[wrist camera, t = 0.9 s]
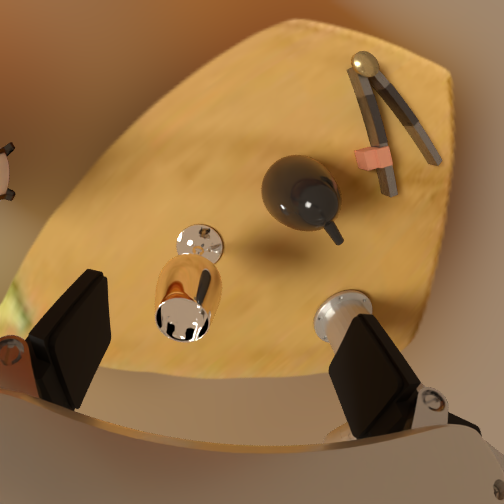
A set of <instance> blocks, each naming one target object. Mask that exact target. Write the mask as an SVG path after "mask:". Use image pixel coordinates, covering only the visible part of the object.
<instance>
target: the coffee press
mask: <svg viewBox="0 0 504 504" xmlns="http://www.w3.org/2000/svg"><path fill="white" fill-rule="evenodd" d="M14 149H15V147H14V145H13V143H12V142H11V143H9V144H7V145H6V146H5V147H3V148H1V147H0V201H1V199H6V200H10V201H12V200H13V198H14V196H15V192H14V191H13V190H10V189H9V188H8V183H9V163H8V159H7V156H8V155H9V154H10V153H11V152H12V151H13V150H14ZM5 193H6V194H5Z"/></svg>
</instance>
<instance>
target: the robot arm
mask: <svg viewBox="0 0 504 504" xmlns="http://www.w3.org/2000/svg"><path fill="white" fill-rule="evenodd" d="M314 329H315V331H316V333H317V335H318V337H319V338H320V339H322V340H323V341H325V342H329V343H330V345H331V347H332V349H333V351H334V353H335V356H334V358H333V360H332V362H331V364H330V366H329V375H330V377H331V380H332V382H333V385H334V388H335V390H336V393H337V395H338V398H339V400H340V403H341V406H342V409H343V411H344V414H345V416H346V419H347V422H346V423H344V424H342V425H341V426H339V427H337V428H336V429H334V430H332V431H331V432H330V433H328V434H327V436H326V437H325V438H324V441H323V444H310V445H291V446H253V445H233V444H220V443H210V442H201V441H193V440H186V439H180V438H174V437H168V436H163V435H158V434H153V433H148V432H144V431H139V430H135V429H131V428H127V427H123V426H120V425H116V424H113V423H109V422H105V421H102V420H99V419H96V418H92V417H90V416H86V415H84V414H80V413H78V412H75V411H74V409H75V408H76V409H79V408H80V406H81V404H82V401H83V399H84V397H85V394H86V392H87V389H88V388H89V386H90V383H91V381H92V379H93V377H94V374H95V372H96V370H97V368H98V366H99V364H100V362H101V360H102V358H103V356H104V354H105V352H106V350H107V348H108V346H109V344H110V341H111V329H110V318H109V304H108V283H107V278H106V277H104V275H103V273H102V272H100V271H96V270H91V269H87V270H86V271H85V272H84V273H83V274H82V275H81V276H80V277H79V278H78V279H77V280H76V281H75V282H74V283H73V284H72V285H71V286H70V287H69V288H68V289H67V290H66V292H65V293H64V294H63V295H62V296H61V297H60V298H59V299H58V300H57V301H56V302H55V304H54V305H53V306H52V307H51V308H50V309H49V310H48V311H47V313H46V314H45V315H44V316H43V317H42V318H41V319H40V321H39V322H38V323H37V324H36V325H35V327H34V328H33V329H32V330H31V331H30V333H29V336H28V337H27V338H26V340H24V339H22V338H21V337H19V336H15V335H7V336H4V337H1V338H0V504H504V455H503V454H501V453H500V452H499V451H498V450H496V449H495V448H494V447H493V446H491V445H490V444H489V443H488V442H486V441H485V440H484V439H483V438H482V435H481V431H480V429H479V427H478V426H476V425H474V424H472V423H470V422H468V421H466V420H464V419H462V418H460V417H458V416H455V415H453V414H451V413H449V412H448V402H447V400H446V398H445V396H444V395H443V394H442V393H441V392H439V391H438V390H436V389H434V388H431V387H425V386H424V385H423V384H422V383H421V382H420V380H419V379H418V378H417V376H416V375H415V373H414V372H413V370H412V369H411V367H410V366H409V364H408V363H407V361H406V360H405V359H404V357H403V355H402V354H401V353H400V351H399V350H398V348H397V347H396V346H395V344H394V343H393V341H392V340H391V339H390V337H389V336H388V334H387V333H386V332H385V330H384V329H383V327H382V326H381V325H380V323H379V322H378V321H377V319H376V318H375V317H374V316H373V315H372V304H371V302H370V300H369V298H368V297H367V296H366V295H365V294H363V293H362V292H359V291H355V290H347V291H342V292H339V293H337V294H335V295H333V296H331V297H330V298H328V299H327V300H326V301H325V302H324V303H323V304H322V305H321V306H320V308H319V309H318V311H317V313H316V315H315V318H314Z"/></svg>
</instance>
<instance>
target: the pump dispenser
mask: <svg viewBox="0 0 504 504" xmlns="http://www.w3.org/2000/svg"><path fill="white" fill-rule="evenodd" d="M261 193H262V199H263V202H264V205H265V207H266V209H267V210H268V212H269V213H270V214H271V215H272V216H273V217H274V218H275V219H276V220H277V221H279V222H280V223H282V224H284V225H285V226H287V227H290V228H292V229H295V230H300V231H317V230H321V229H323V228H324V229H325V231H326V232H327V233H328V234H329V236H330V237H331V238H332V240H333V241H334V242H335V244H336V245H341V244H342V243H343V242H344V239H343V237H342V236H341V234H340V232H339V230H338V228H337V226H336V225H335V223H334V220H335V219H336V218H337V217H338V215H339V213H340V210H341V204H342V198H341V192H340V189H339V186H338V184H337V182H336V180H335V179H334V177H333V175H332V174H331V173H330V171H329V170H328V169H327V168H326V167H325V166H323V165H322V164H321V163H320V162H318V161H317V160H315V159H313V158H311V157H308V156H303V155H290V156H286V157H284V158H281V159H279V160H278V161H276V162H275V163H274V164H273V165H272V166H271V167H270V168H269V169H268V171H267V172H266V174H265V176H264V179H263V182H262V188H261Z"/></svg>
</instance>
